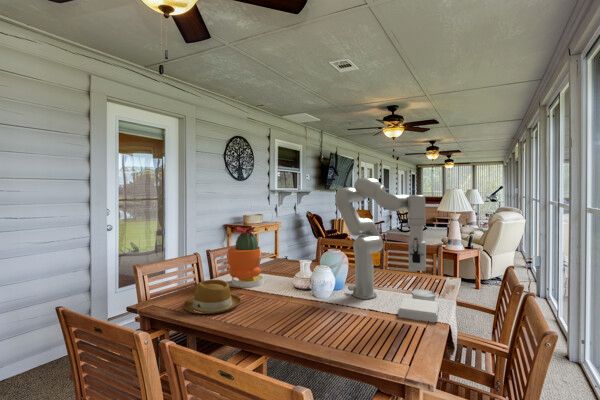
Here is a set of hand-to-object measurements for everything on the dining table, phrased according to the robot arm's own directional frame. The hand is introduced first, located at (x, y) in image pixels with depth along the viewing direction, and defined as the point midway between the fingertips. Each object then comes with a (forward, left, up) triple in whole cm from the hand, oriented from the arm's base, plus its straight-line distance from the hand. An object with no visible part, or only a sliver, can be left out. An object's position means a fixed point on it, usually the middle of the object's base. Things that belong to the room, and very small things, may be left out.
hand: (417, 260), depth 152 cm
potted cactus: (-100, +9, -24) cm, 104 cm away
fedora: (-94, -28, -25) cm, 102 cm away
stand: (+1, 0, -24) cm, 24 cm away
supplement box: (0, 0, -4) cm, 4 cm away
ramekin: (+1, +15, -25) cm, 29 cm away
